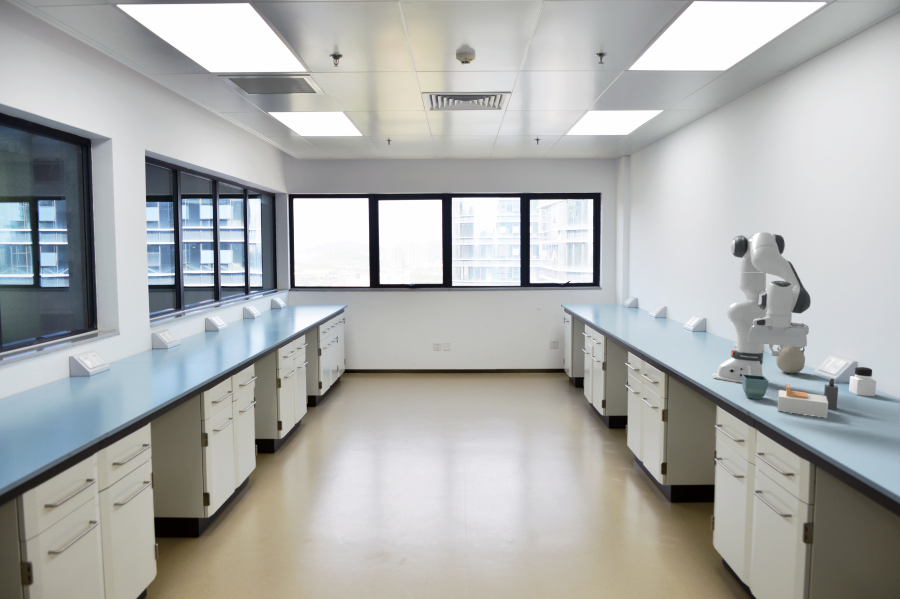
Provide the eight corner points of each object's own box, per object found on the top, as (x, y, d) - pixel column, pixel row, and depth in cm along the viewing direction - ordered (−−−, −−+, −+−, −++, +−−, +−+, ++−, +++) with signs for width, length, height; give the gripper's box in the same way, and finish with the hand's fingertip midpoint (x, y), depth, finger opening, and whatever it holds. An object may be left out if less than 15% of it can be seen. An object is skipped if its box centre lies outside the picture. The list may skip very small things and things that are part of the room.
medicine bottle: (875, 396, 237) (877, 369, 236) (856, 395, 239) (859, 368, 238) (866, 392, 244) (868, 366, 243) (848, 391, 246) (850, 365, 245)
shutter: (786, 395, 213) (786, 387, 213) (786, 391, 219) (786, 383, 219) (807, 398, 210) (808, 390, 209) (806, 394, 216) (807, 386, 215)
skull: (803, 372, 284) (806, 334, 282) (804, 377, 271) (807, 338, 270) (775, 369, 291) (778, 332, 289) (774, 374, 278) (777, 336, 276)
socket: (777, 411, 213) (778, 396, 212) (777, 404, 223) (778, 390, 223) (826, 418, 205) (828, 403, 204) (824, 410, 215) (825, 395, 214)
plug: (823, 408, 218) (826, 379, 217) (823, 405, 222) (825, 377, 221) (836, 410, 216) (838, 380, 215) (835, 407, 220) (837, 378, 219)
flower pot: (762, 396, 236) (764, 375, 235) (767, 401, 227) (768, 380, 227) (740, 394, 239) (741, 374, 238) (744, 399, 230) (745, 378, 229)
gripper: (808, 323, 213) (806, 357, 215) (749, 319, 224) (747, 351, 225) (809, 324, 208) (807, 360, 209) (749, 320, 218) (747, 354, 220)
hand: (775, 355), depth 217 cm, fingers closed
